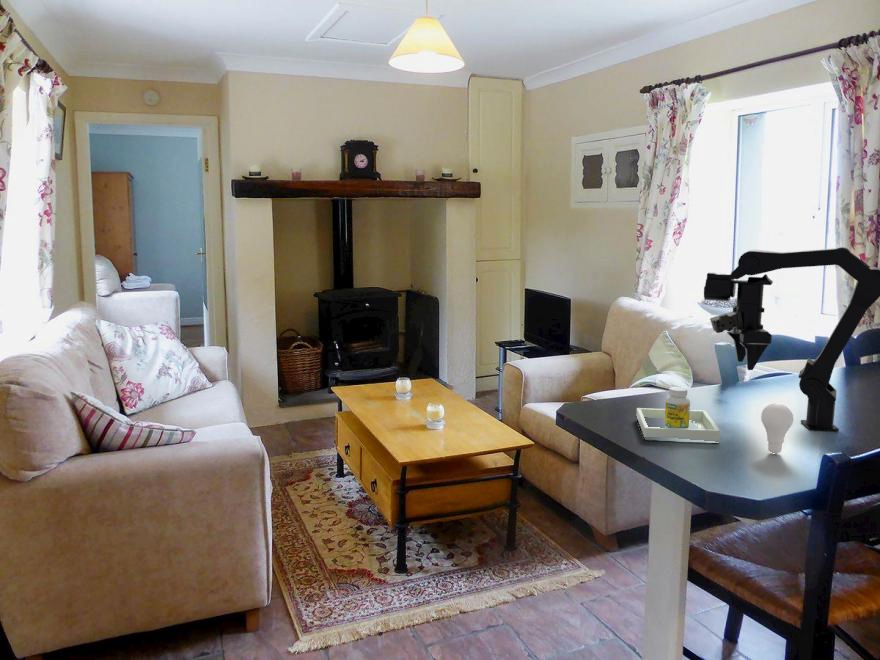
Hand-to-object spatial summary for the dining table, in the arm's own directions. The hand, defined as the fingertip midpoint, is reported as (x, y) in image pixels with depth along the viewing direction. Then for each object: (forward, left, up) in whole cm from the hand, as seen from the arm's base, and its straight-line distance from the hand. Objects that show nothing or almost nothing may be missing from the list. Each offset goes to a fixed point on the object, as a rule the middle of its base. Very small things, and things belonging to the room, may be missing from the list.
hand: (744, 365), depth 174 cm
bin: (-14, +18, -13) cm, 26 cm away
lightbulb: (-27, 0, -13) cm, 30 cm away
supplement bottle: (-14, +18, -13) cm, 26 cm away
